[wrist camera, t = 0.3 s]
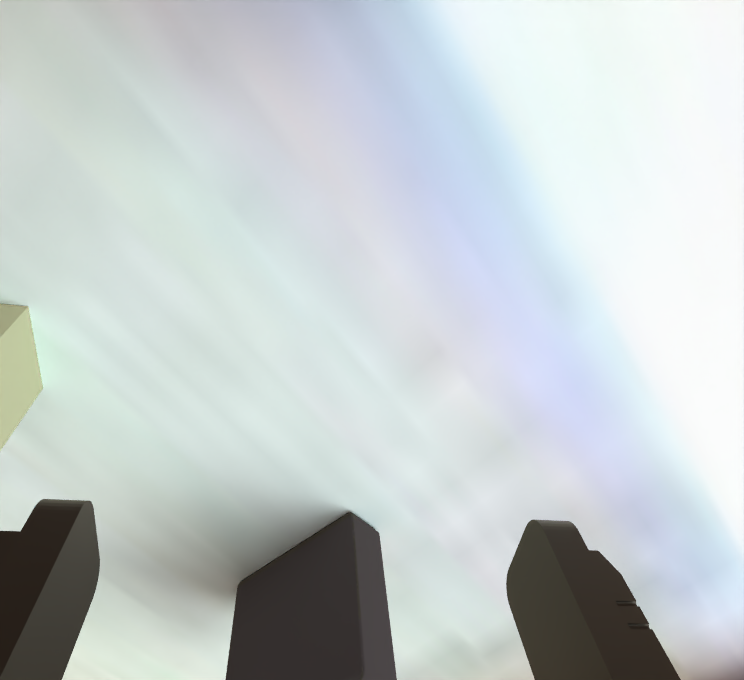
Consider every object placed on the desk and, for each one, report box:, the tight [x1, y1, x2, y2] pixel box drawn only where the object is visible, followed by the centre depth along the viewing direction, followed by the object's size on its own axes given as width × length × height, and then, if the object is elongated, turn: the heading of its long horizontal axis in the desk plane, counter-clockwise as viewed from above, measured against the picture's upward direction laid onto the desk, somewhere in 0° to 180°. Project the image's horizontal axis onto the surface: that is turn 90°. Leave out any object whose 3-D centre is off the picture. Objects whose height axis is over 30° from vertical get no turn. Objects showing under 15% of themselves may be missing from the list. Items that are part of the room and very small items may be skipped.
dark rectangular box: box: [226, 513, 397, 680], centre depth 32 cm, size 11×4×15 cm, turn 130°
